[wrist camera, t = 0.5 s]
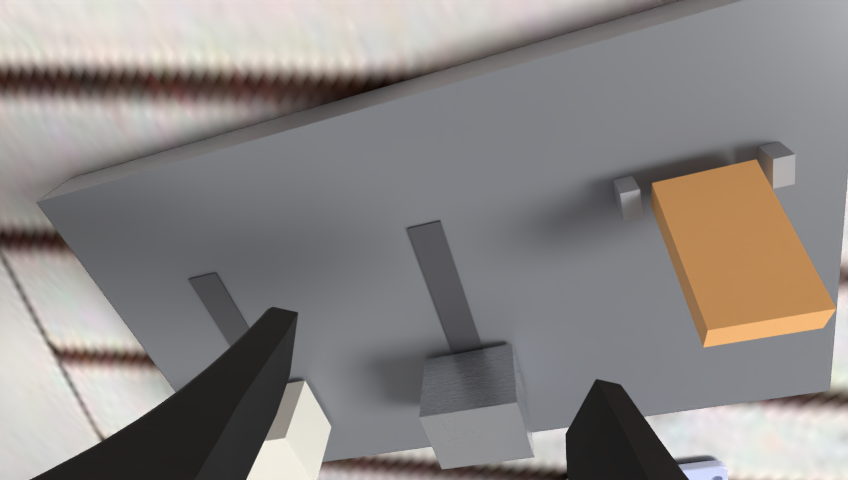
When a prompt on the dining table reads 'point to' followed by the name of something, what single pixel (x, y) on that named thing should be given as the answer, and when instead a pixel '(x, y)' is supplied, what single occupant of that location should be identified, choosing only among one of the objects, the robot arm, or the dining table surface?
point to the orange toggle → (738, 256)
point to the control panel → (488, 220)
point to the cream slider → (294, 438)
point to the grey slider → (476, 408)
